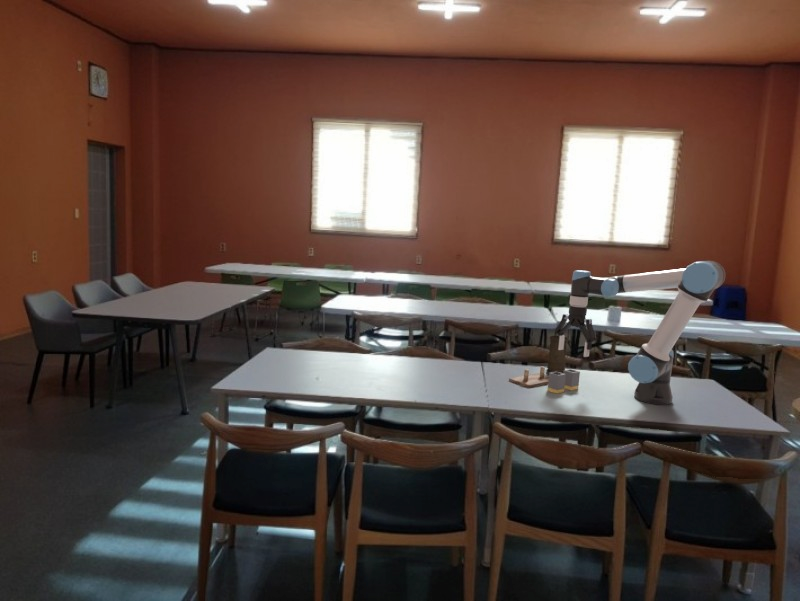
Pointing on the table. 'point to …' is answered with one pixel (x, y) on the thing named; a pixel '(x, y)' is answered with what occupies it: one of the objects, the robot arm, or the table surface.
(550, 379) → the sleeve
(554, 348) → the container
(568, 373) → the sleeve
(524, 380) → the pin board
